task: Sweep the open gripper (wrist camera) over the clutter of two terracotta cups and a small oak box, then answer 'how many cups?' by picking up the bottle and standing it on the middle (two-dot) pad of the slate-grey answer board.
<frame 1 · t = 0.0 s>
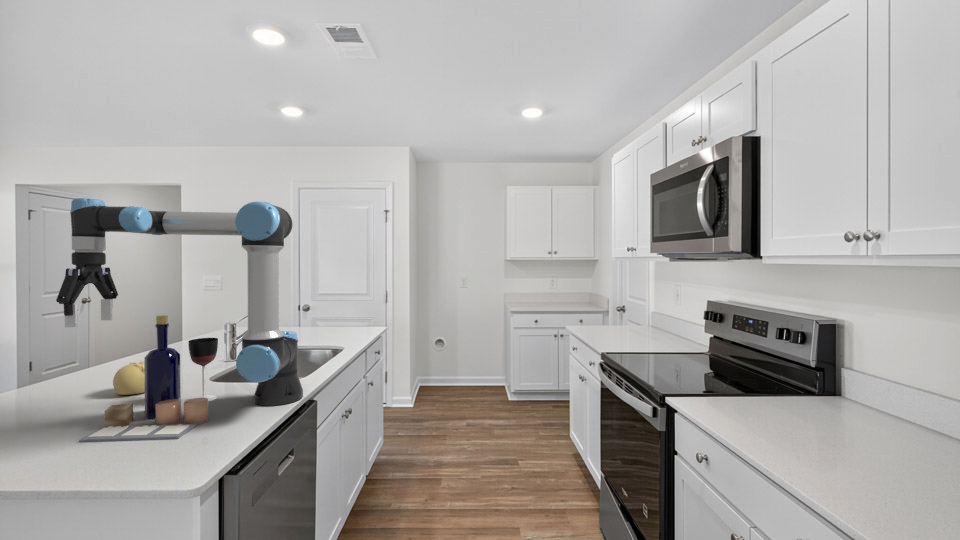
hand: (89, 323, 131), 28 cm above the worktop, fingers open, 13 cm apart
cup a: (196, 421, 129), on the worktop
cup b: (168, 423, 128), on the worktop
yellow rounded lump: (135, 393, 155), on the worktop
bottle: (163, 414, 135), on the worktop
answer board: (140, 433, 120), on the worktop
wineglass: (203, 399, 149), on the worktop
oak box: (119, 424, 127), on the worktop
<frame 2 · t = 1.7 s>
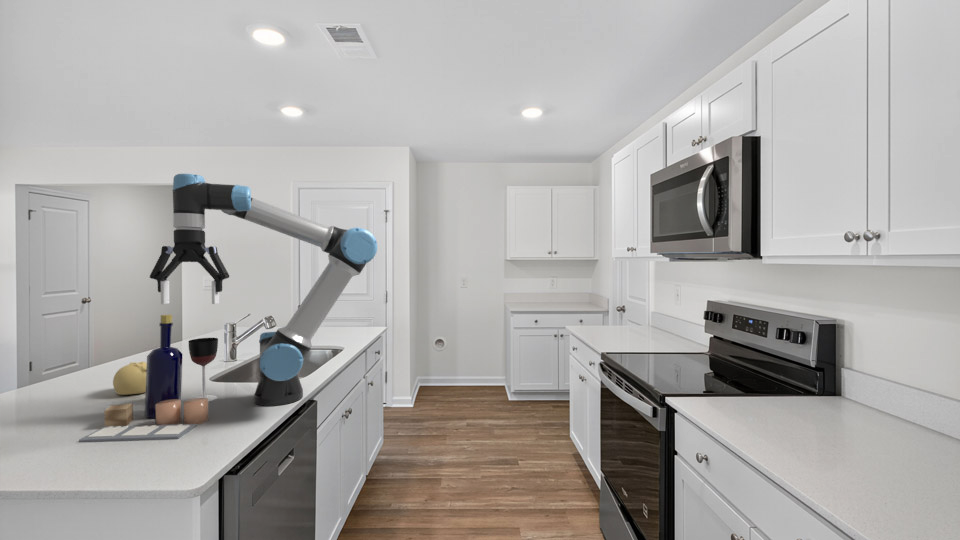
hand: (190, 303, 127), 35 cm above the worktop, fingers open, 13 cm apart
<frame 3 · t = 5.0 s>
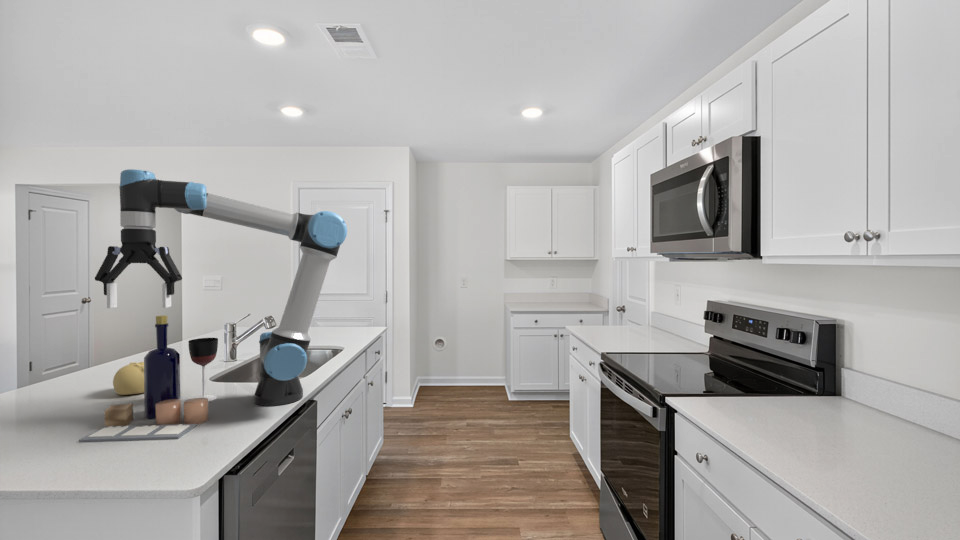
hand: (139, 307, 119), 34 cm above the worktop, fingers open, 13 cm apart
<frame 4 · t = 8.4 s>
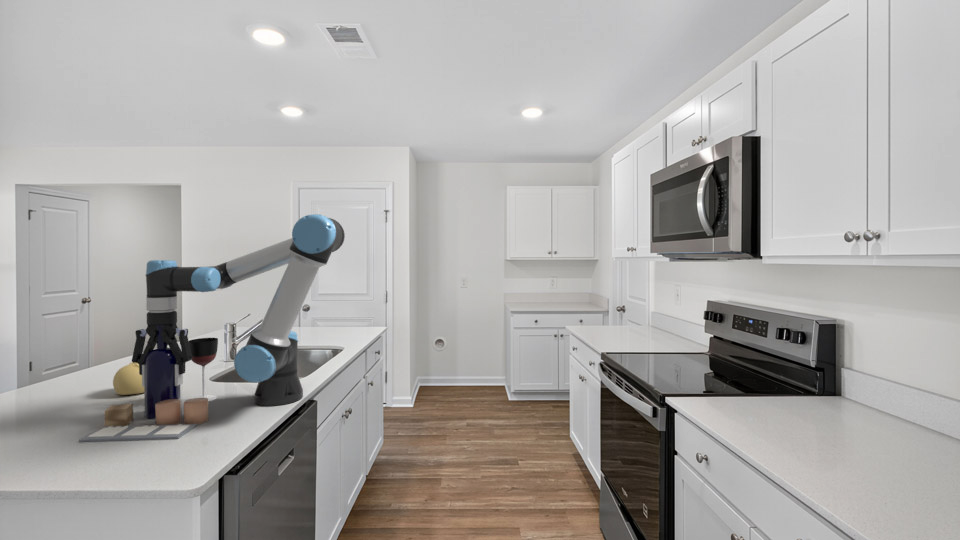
hand: (162, 384, 135), 9 cm above the worktop, fingers closed on bottle, 8 cm apart
bottle: (162, 414, 135), on the worktop, touching gripper
everything else where it was.
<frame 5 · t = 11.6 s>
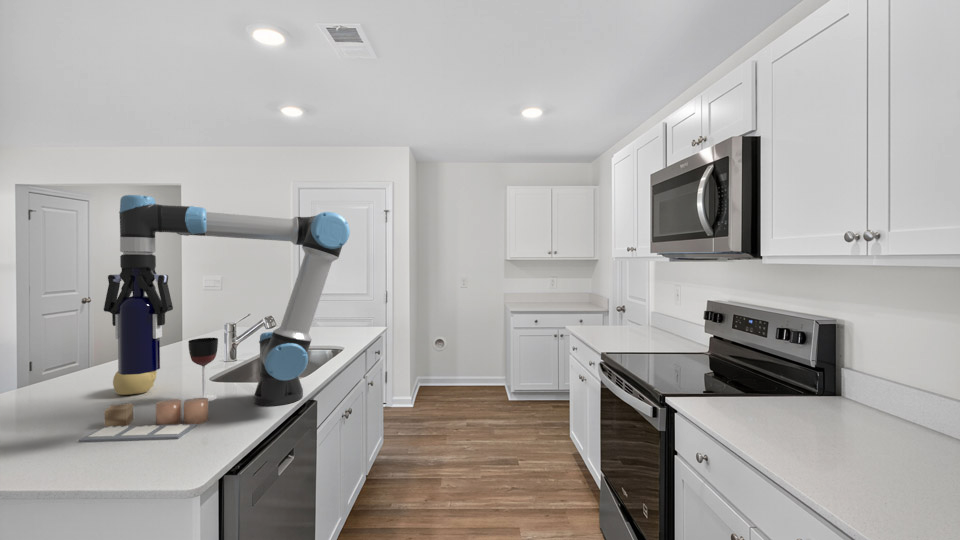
hand: (139, 337, 119), 26 cm above the worktop, fingers closed on bottle, 8 cm apart
bottle: (139, 371, 119), point 17 cm above the worktop, touching gripper
everything else where it was.
when the fingers open (11 cm above the worktop, at t = 14.7 s): bottle drops 1 cm, resting on answer board.
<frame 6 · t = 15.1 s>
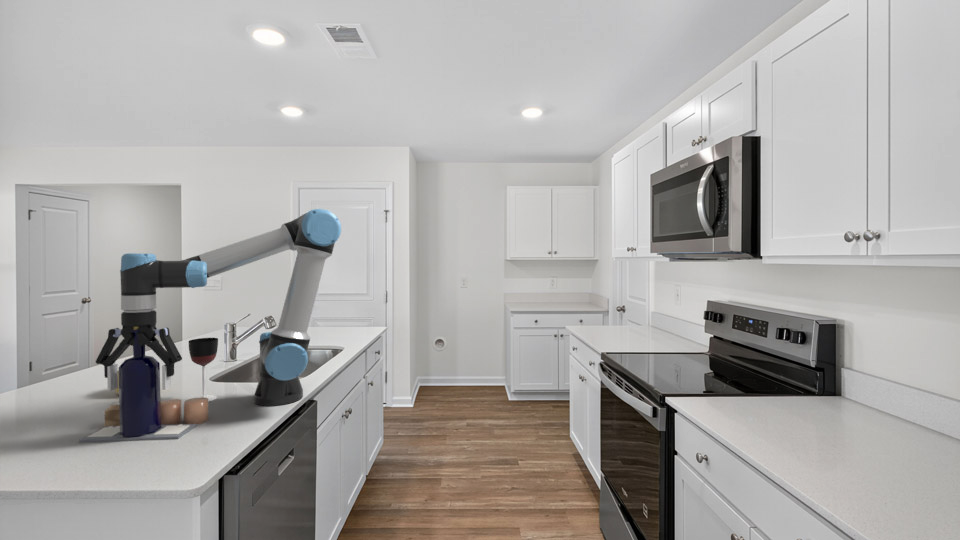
hand: (140, 389, 120), 12 cm above the worktop, fingers open, 13 cm apart
bottle: (140, 431, 120), point 1 cm above the worktop, touching answer board
everything else where it was.
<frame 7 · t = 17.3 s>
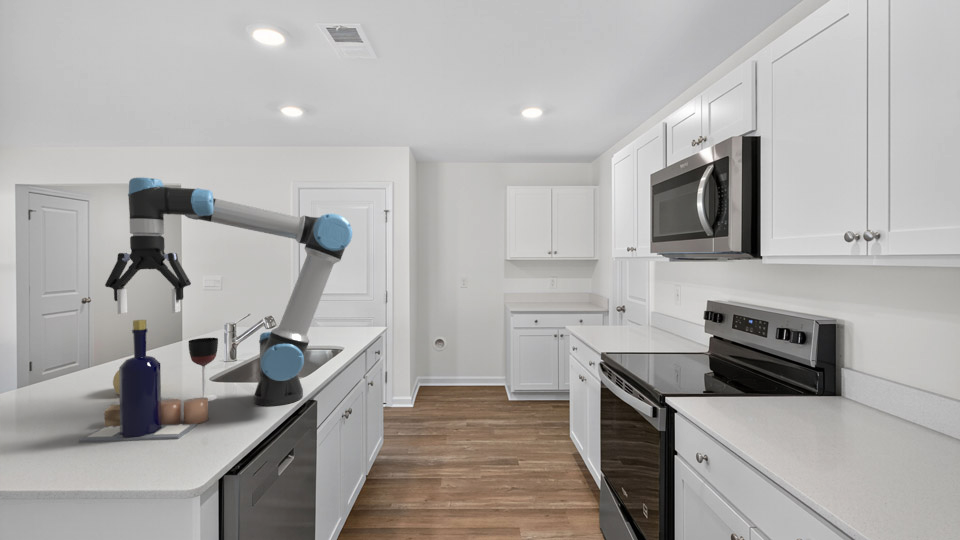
hand: (149, 312, 122), 33 cm above the worktop, fingers open, 13 cm apart
nothing on the worktop moved.
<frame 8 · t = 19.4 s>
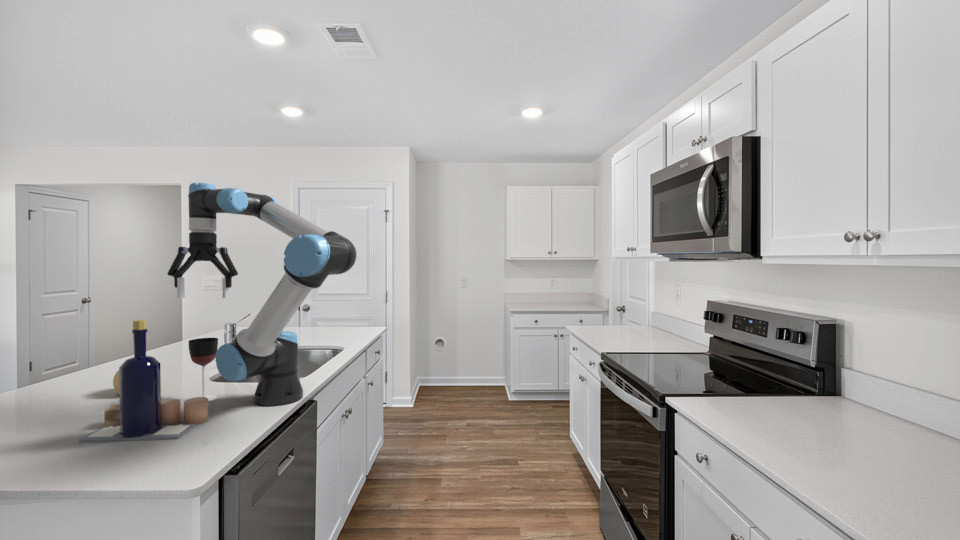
hand: (203, 298, 143), 35 cm above the worktop, fingers open, 13 cm apart
nothing on the worktop moved.
at the end: bottle 0.1 cm from the answer board (horizontally); bottle tilted 0°; the gripper is holding nothing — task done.
